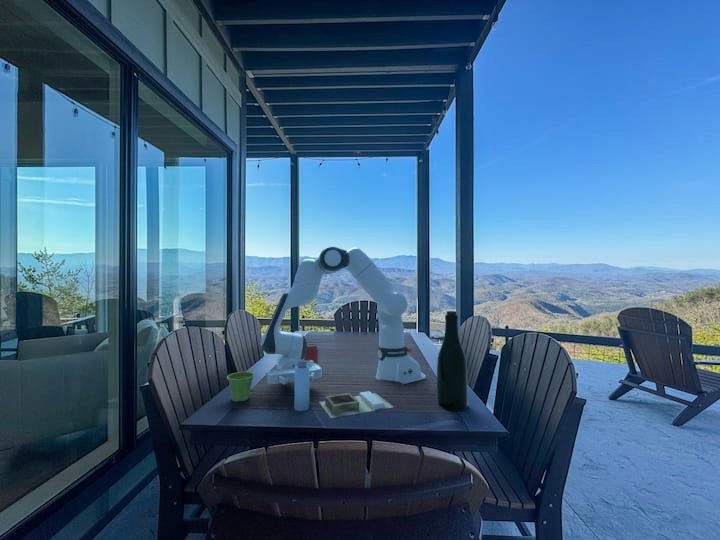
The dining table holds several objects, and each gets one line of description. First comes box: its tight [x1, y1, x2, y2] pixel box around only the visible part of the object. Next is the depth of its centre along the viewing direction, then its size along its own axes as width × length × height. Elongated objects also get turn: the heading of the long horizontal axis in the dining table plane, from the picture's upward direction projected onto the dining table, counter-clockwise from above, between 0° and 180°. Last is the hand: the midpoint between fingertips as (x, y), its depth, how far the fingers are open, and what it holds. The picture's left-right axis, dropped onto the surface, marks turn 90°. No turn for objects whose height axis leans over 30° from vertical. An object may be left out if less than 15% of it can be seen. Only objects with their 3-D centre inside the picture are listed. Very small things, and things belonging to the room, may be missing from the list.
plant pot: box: [226, 371, 255, 403], centre depth 118 cm, size 9×9×9 cm
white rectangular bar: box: [359, 390, 384, 409], centre depth 112 cm, size 4×12×2 cm, turn 23°
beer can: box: [303, 343, 319, 365], centre depth 155 cm, size 7×7×12 cm
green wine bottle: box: [436, 310, 469, 412], centre depth 112 cm, size 10×10×33 cm
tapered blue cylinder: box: [293, 359, 310, 412], centre depth 110 cm, size 5×5×16 cm
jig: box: [318, 392, 394, 419], centre depth 109 cm, size 22×14×4 cm, turn 113°
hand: (298, 380), depth 114 cm, fingers open, 8 cm apart
